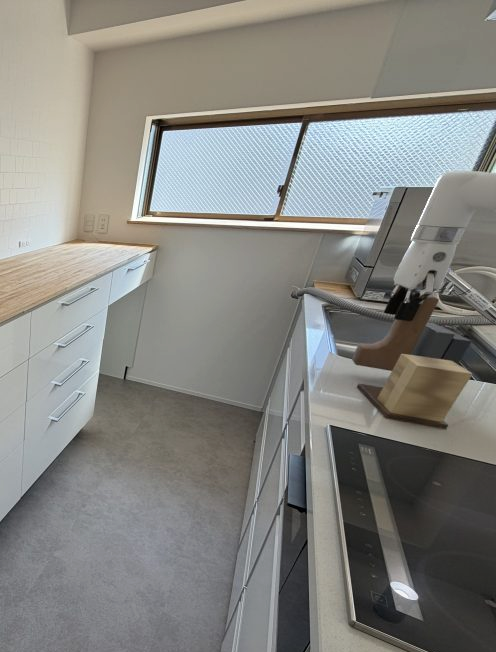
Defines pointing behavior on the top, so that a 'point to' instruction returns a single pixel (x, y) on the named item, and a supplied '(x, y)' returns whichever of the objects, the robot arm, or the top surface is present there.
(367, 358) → the brown l-shaped piece
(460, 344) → the grey books
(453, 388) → the wood cube on plate
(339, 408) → the top surface
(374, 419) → the top surface
